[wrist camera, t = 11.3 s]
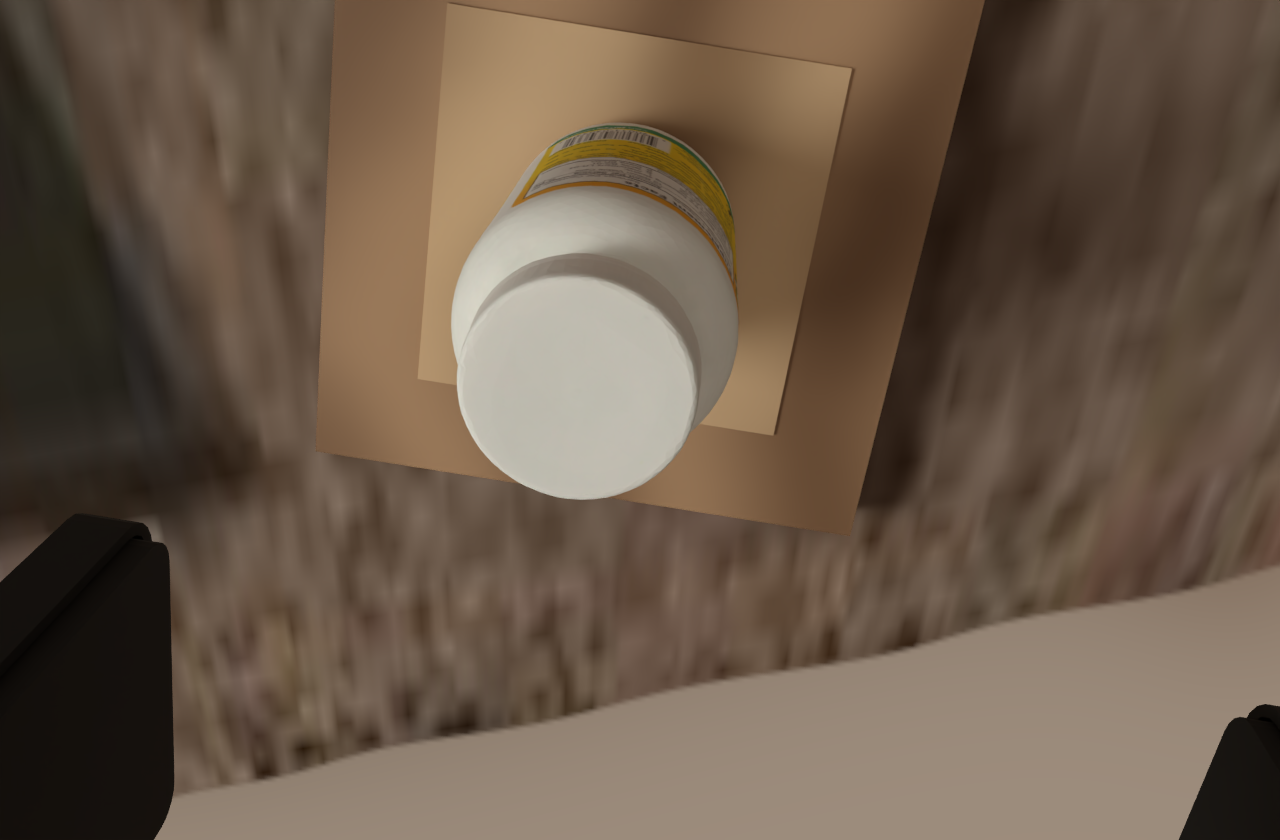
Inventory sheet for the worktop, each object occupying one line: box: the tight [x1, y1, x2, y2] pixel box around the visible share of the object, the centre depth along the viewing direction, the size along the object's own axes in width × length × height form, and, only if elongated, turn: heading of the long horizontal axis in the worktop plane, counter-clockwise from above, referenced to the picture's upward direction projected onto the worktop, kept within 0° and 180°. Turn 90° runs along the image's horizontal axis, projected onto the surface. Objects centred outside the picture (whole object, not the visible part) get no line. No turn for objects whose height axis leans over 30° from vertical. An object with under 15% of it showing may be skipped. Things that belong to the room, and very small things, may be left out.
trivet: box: [316, 0, 985, 536], centre depth 29 cm, size 14×14×2 cm
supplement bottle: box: [451, 123, 739, 500], centre depth 24 cm, size 5×5×10 cm
